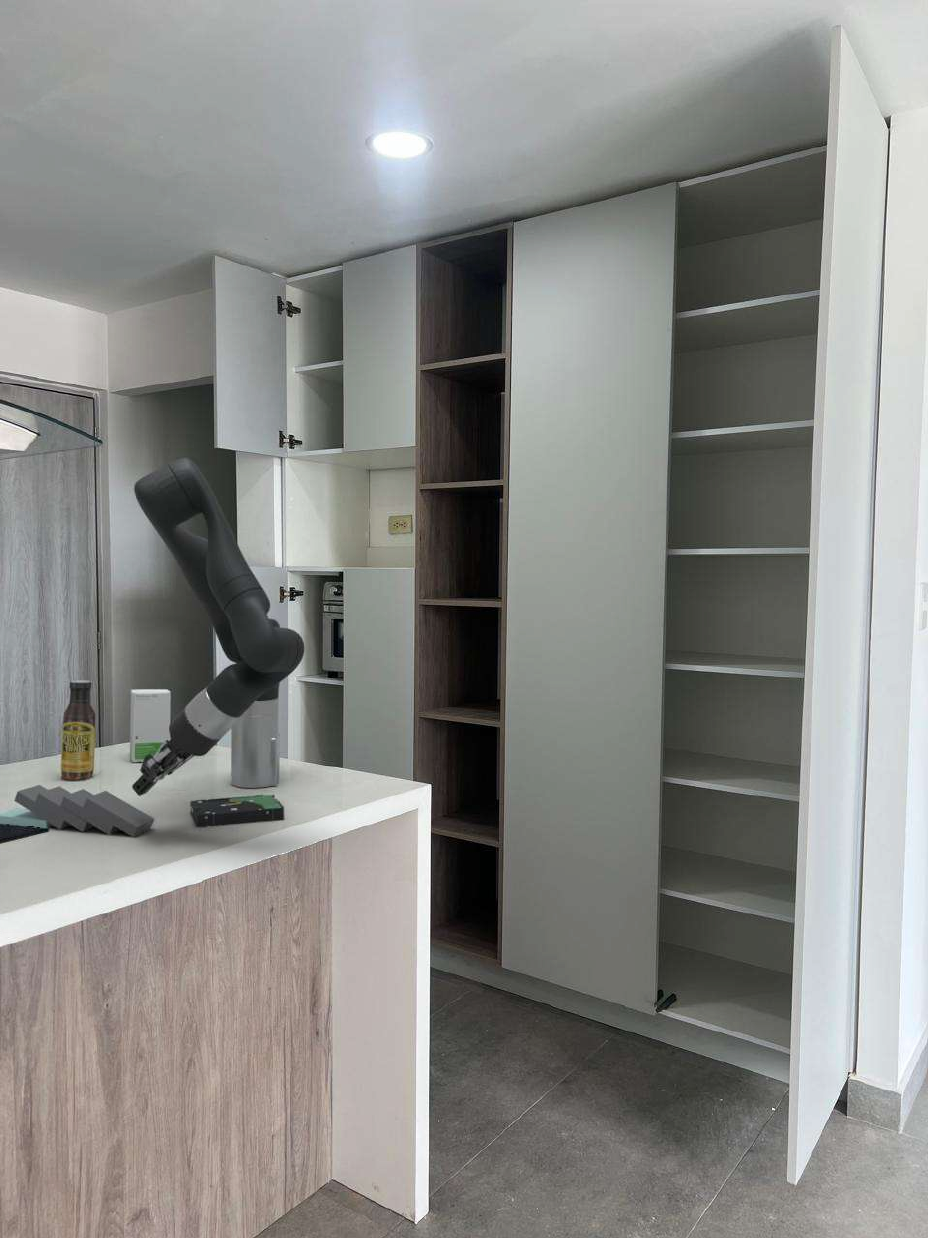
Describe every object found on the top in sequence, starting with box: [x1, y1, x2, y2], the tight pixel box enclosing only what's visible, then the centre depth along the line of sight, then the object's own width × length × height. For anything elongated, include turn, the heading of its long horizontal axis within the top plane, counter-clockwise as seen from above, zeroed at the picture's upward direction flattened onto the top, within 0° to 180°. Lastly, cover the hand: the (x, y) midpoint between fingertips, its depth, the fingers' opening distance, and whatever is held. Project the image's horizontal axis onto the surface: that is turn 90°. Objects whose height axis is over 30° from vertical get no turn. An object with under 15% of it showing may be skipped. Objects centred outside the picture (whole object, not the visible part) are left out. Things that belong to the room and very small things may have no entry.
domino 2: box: [14, 784, 72, 831], centre depth 152 cm, size 2×5×10 cm
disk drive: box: [189, 794, 285, 829], centre depth 159 cm, size 10×3×15 cm
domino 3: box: [35, 786, 96, 833], centre depth 151 cm, size 2×5×10 cm
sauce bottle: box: [60, 679, 96, 781], centre depth 185 cm, size 7×6×20 cm
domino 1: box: [0, 807, 55, 829], centre depth 153 cm, size 2×5×10 cm
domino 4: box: [60, 789, 121, 836], centre depth 150 cm, size 2×5×10 cm
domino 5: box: [83, 790, 155, 838], centre depth 149 cm, size 2×5×10 cm
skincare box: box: [129, 688, 172, 764], centre depth 204 cm, size 8×7×16 cm
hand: (138, 790), depth 148 cm, fingers closed
